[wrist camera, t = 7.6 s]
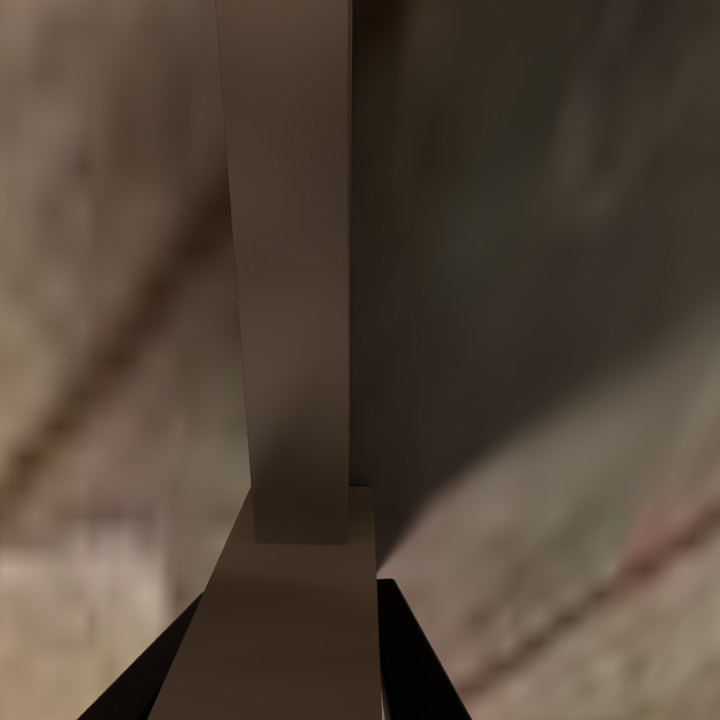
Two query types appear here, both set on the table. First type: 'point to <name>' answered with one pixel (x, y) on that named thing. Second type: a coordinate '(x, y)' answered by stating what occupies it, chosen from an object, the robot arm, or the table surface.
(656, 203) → the table surface
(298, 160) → the tan post with foot
